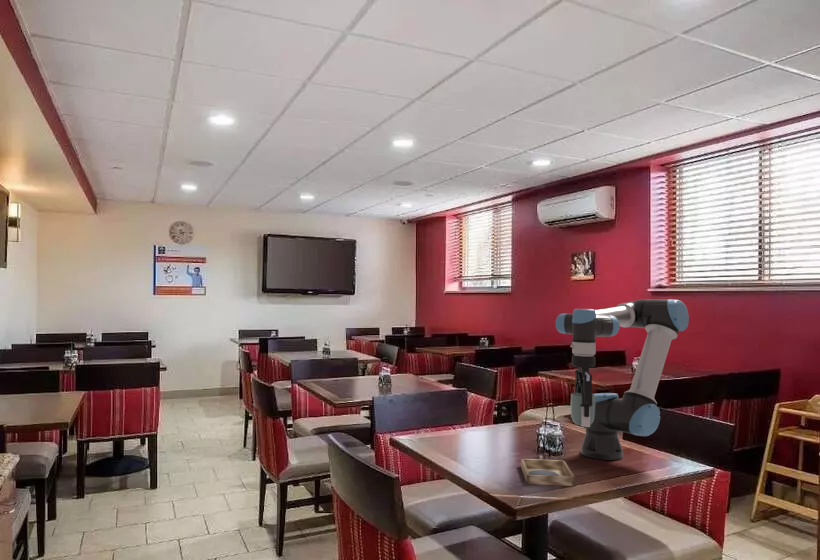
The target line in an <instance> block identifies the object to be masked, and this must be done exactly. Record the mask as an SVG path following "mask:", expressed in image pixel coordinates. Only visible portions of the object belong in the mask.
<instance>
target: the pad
mask: <svg viewBox="0 0 820 560" xmlns="http://www.w3.org/2000/svg"><path fill="white" fill-rule="evenodd" d="M528 473H529V475H548V476H559V475H558V474H557V473H555V472H552V471H547V470H533V471H530V472H528Z"/></svg>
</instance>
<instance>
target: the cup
mask: <svg viewBox="0 0 820 560" xmlns="http://www.w3.org/2000/svg"><path fill="white" fill-rule="evenodd" d="M594 394H595V393H592V404H593V405H592V406H591V407H590V425H591V424H592V423H593V421H594V418H595V395H594ZM581 404H582V393H575V392H571V394H570V415H571V420H572V422H573V423H574V424H575V425H578V426H581V407H580V405H581Z"/></svg>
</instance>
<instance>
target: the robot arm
mask: <svg viewBox="0 0 820 560" xmlns="http://www.w3.org/2000/svg"><path fill="white" fill-rule="evenodd" d="M689 319H690V315H689V311H688V308H687V306H686V304H685V303H684V302H683V301H682V300H679V299H671V298H669V299H660V298H659V299H657V298H656V299H653V298H650V299H649V298H643V299H636V300H633V301H628V302H627V301H626V302H621V303H619V304H617V305H616V306H613V307H608V308H607V307H605V308H600V309H593V308H574V310H573V311H572V313H568V312H566V313H560V314H559V315H557V316H556V319H555V328H556V330H557V332H558V333H560V334H563V335H572V339H571V341H572V342H571V344H570V346H569V347H570V348H572V349H571V351H572V355H571V366H572V367H575V368H577V369H576V370H575V371H574V373H575V375H574V377H575V378H574V393H582V404H581V405H580V407H581V425H580V426H581V428H583V427H584V428H585V433H584V434H585V435H584V437H583V439H582V440H583V441H582V443H581V446H580V453H581V455H583V456H584V457H588V458H591V459H595V460H602V461H603V460H605V461H613V460H614V461H616V460H620V459H622V458H623V457H624V450H623V447H622V444H621V440H620V438H619V432H622V433H627V434H631V435H634V436H639V437H648V436H650V435H652V434H654V433H655V432H656V430H657V429H658V428H659V425H660V422H661V421H660V420H661V416H660V415H661V411H660V409H659V407H658V406H657V405H658V402H657V401H656V399H655V396H656V392H657V389H658V386H659V383H660V380H661V376H662V374H663V370H664V368H665V367H664V366H665V363H666V360H667V356H668V353H669V349H670V347H671V343H672V340H676V339H677V338H678V335H679V332H683V331H685V330H686V329H688V326H689V321H690V320H689ZM620 327H621V328H639V329H645V331H646V333H647V335H646V339H645V340H644V343H643V347H642V351H641V354H640V357H639V360H638V363H637V366H636V369H635V372H634V376H633V379H632V381H631V385H630V388H629V389H628V390H626V391H624V392H623V396H622V398H620V397H619V394H618V393H614V392H600V393H593V382H592V381H593V374H591V373H590V369H591V368H596V356H595V355H596V352H597V349H596V347H597V345H596V344H597V343H596V338H598V337H599V338H602V337H604V338H610V337H614V336H616V335H617V334H618V333H619V331H620ZM592 394H594V395H595V418H594V421H593V423H592V424H591V425H590V407H591V406H592V405H593V404H592Z"/></svg>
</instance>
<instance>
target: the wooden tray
mask: <svg viewBox="0 0 820 560" xmlns="http://www.w3.org/2000/svg"><path fill="white" fill-rule="evenodd" d="M520 468H521V470H522V471H521V472H522V474H523V477H524V479H525V482H526V484H527V485H544V486H545V485H547V486H548V485H549V486H567V487H575V486H576V477H575V475H574V473H573V472H572V470H571V469H570V467H569V465H568V464H567V462H566V461H565V460H563V459H540V458H539V459H537V458H520ZM533 470H547V471H552V472H555V473H557V474H558V475H559V476H548V475H529V473H528V472H530V471H533Z"/></svg>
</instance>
